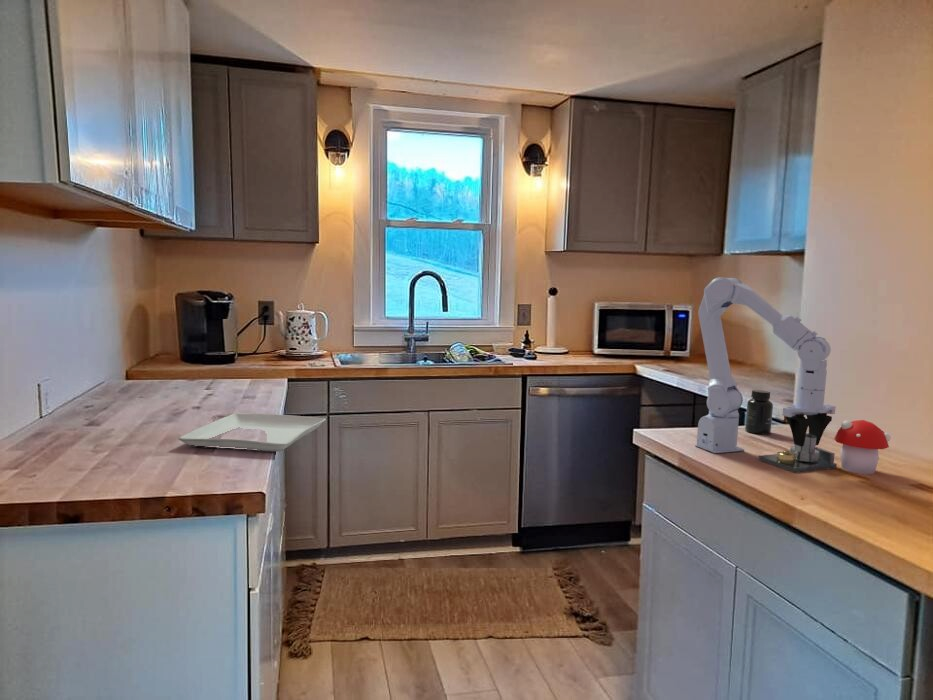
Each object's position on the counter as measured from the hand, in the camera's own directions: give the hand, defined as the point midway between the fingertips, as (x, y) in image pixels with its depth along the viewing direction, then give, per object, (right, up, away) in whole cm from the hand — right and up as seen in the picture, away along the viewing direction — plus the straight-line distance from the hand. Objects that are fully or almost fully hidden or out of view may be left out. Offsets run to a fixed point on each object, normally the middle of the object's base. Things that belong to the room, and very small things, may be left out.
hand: (806, 444), depth 150 cm
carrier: (-2, -5, +1) cm, 5 cm away
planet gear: (0, -3, +1) cm, 3 cm away
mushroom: (+11, -6, -3) cm, 12 cm away
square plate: (-135, -1, +11) cm, 135 cm away
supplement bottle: (+3, -1, +33) cm, 33 cm away
